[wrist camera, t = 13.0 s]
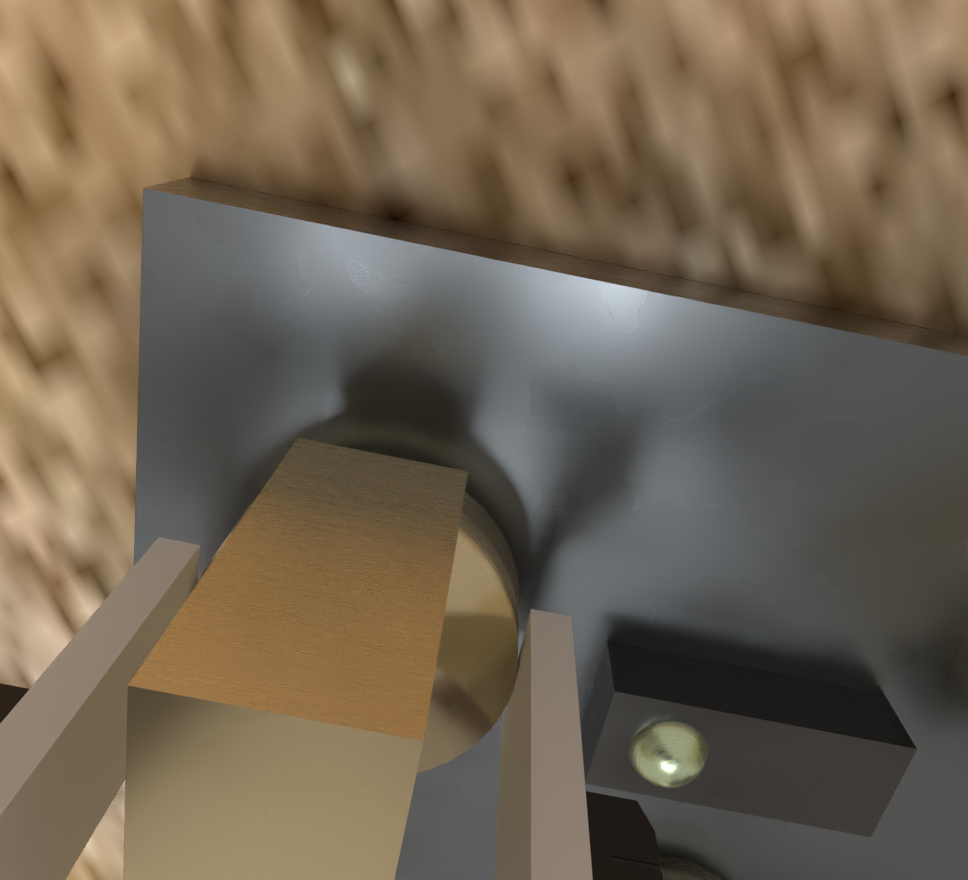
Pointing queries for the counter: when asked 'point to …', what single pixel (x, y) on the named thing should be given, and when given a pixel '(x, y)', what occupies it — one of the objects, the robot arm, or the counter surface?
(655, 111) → the counter surface
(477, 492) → the levelling plate
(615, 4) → the counter surface
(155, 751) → the knob
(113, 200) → the counter surface
